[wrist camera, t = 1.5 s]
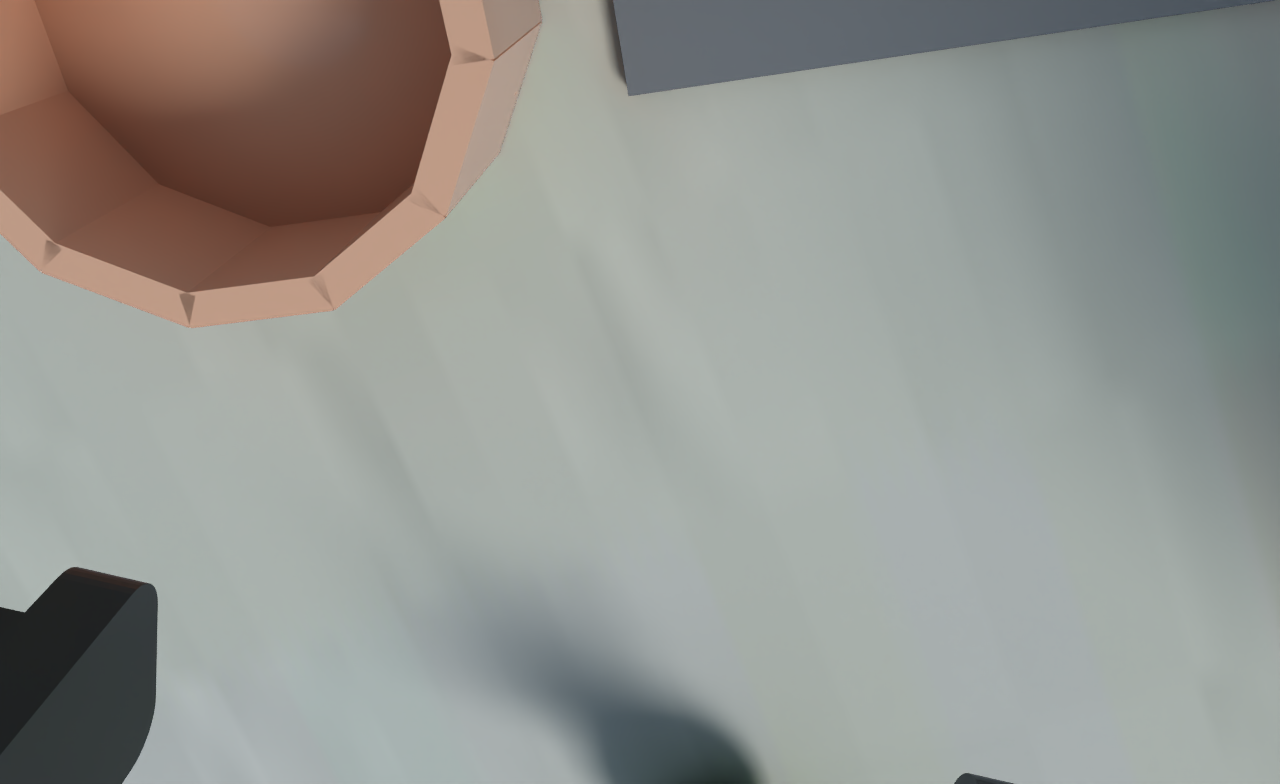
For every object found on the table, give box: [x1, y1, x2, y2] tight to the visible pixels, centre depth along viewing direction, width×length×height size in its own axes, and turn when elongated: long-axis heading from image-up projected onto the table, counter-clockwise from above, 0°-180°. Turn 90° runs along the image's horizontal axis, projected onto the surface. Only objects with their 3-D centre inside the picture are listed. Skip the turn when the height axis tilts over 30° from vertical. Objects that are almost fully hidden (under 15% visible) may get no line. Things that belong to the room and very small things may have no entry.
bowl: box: [0, 0, 542, 328], centre depth 27 cm, size 14×14×6 cm
